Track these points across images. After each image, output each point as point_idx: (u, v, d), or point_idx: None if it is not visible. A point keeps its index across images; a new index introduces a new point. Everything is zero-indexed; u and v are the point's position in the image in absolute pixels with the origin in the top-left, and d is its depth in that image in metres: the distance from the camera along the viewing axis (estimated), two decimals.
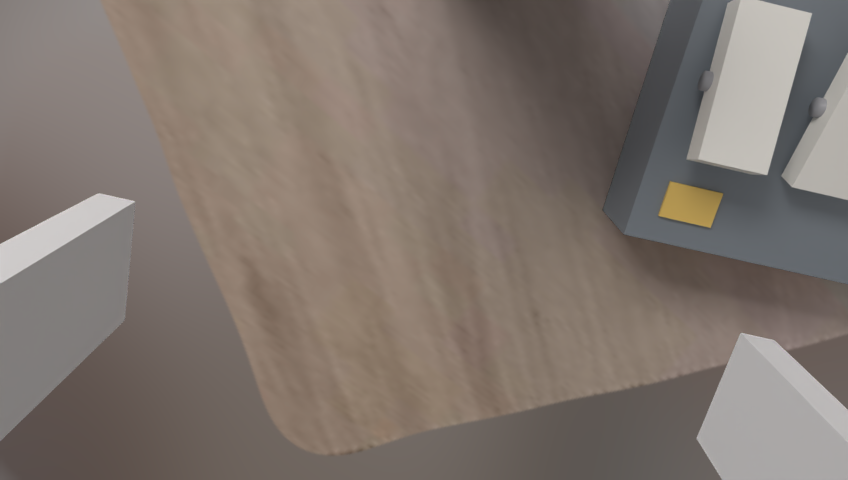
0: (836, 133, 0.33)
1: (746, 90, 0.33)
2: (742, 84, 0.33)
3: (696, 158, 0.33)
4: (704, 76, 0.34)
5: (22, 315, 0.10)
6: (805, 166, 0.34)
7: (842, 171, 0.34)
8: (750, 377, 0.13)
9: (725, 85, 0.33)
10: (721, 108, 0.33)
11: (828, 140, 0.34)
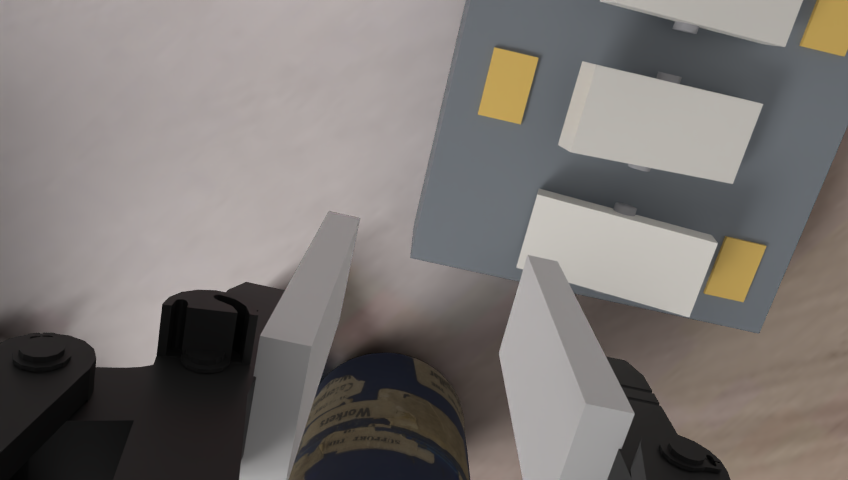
0: (675, 155, 0.29)
1: (616, 264, 0.30)
2: (609, 268, 0.30)
3: None
4: None
5: (330, 315, 0.12)
6: (709, 176, 0.29)
7: (722, 133, 0.29)
8: (526, 290, 0.15)
9: (608, 285, 0.30)
10: (633, 291, 0.30)
11: (682, 162, 0.29)
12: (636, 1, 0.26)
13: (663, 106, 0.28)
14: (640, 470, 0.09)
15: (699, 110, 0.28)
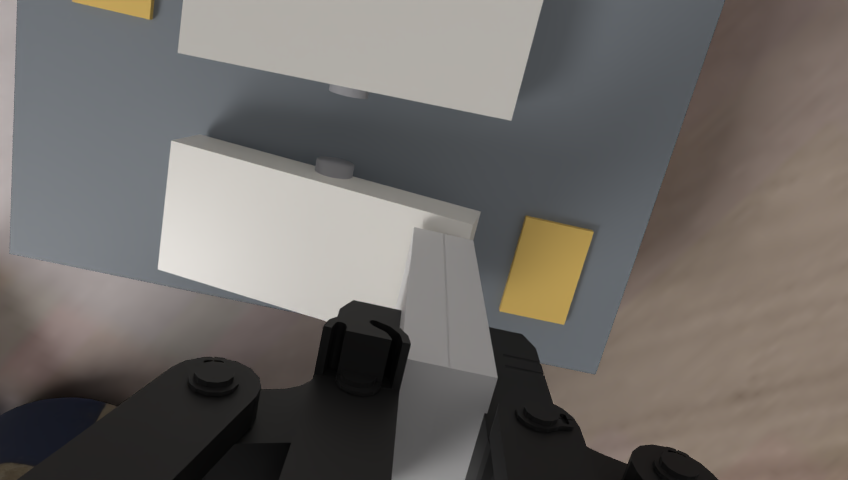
0: (393, 65, 0.16)
1: (311, 263, 0.17)
2: (301, 270, 0.17)
3: None
4: None
5: None
6: (466, 106, 0.16)
7: (478, 25, 0.16)
8: None
9: (305, 300, 0.17)
10: None
11: (408, 77, 0.16)
12: None
13: None
14: (497, 437, 0.09)
15: None
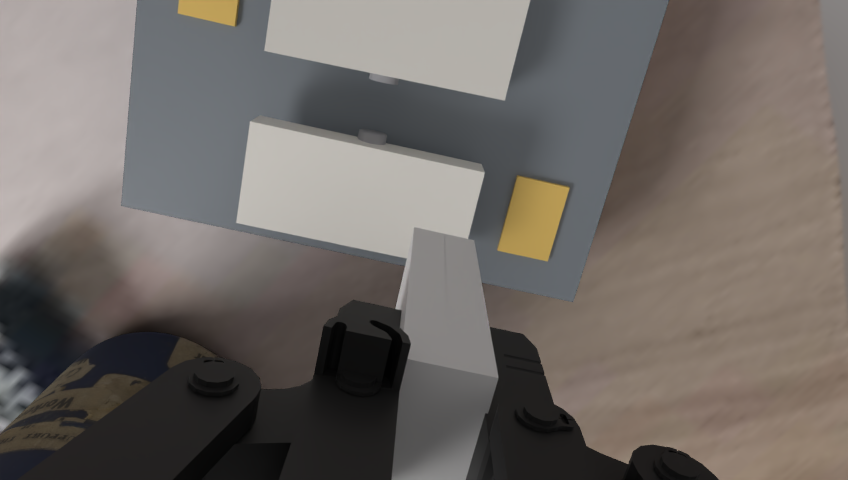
0: (417, 59, 0.22)
1: (363, 209, 0.23)
2: (355, 215, 0.23)
3: None
4: None
5: None
6: (471, 89, 0.22)
7: (479, 30, 0.22)
8: None
9: (358, 237, 0.23)
10: (389, 241, 0.23)
11: (428, 68, 0.22)
12: None
13: None
14: (498, 437, 0.09)
15: None
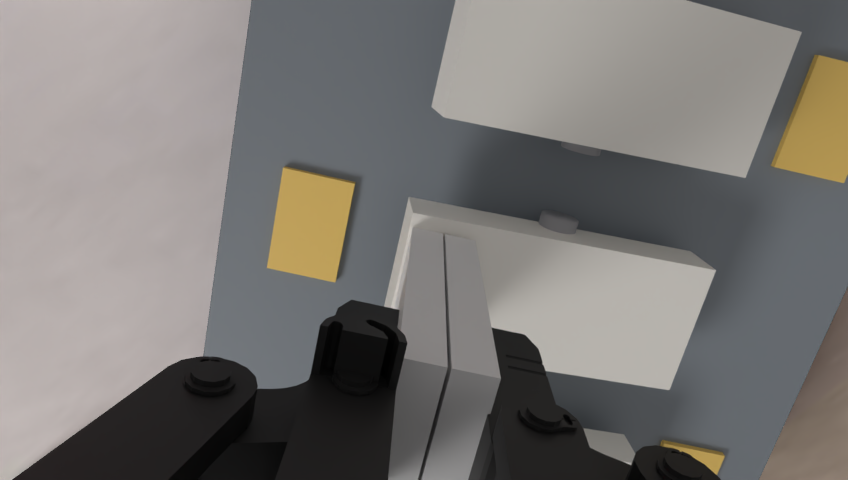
0: (566, 349, 0.17)
1: None
2: None
3: None
4: None
5: None
6: (628, 379, 0.18)
7: (645, 316, 0.17)
8: None
9: None
10: None
11: (578, 358, 0.18)
12: (482, 114, 0.15)
13: (538, 275, 0.17)
14: (501, 438, 0.09)
15: (603, 281, 0.17)
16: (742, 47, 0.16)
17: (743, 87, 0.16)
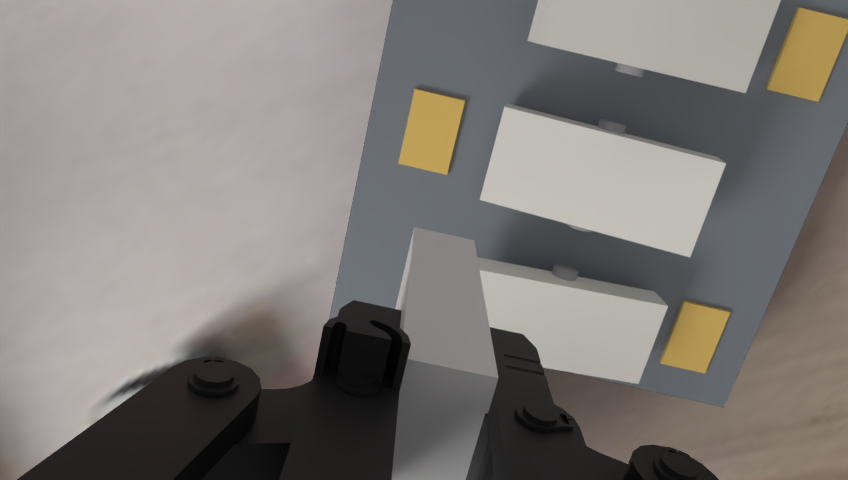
0: (609, 215, 0.25)
1: (561, 337, 0.26)
2: (554, 342, 0.26)
3: None
4: None
5: None
6: (657, 244, 0.25)
7: (670, 195, 0.24)
8: None
9: (554, 360, 0.27)
10: (581, 363, 0.27)
11: (618, 224, 0.25)
12: (565, 43, 0.22)
13: (589, 157, 0.24)
14: (497, 437, 0.09)
15: (637, 165, 0.24)
16: None
17: (744, 27, 0.23)
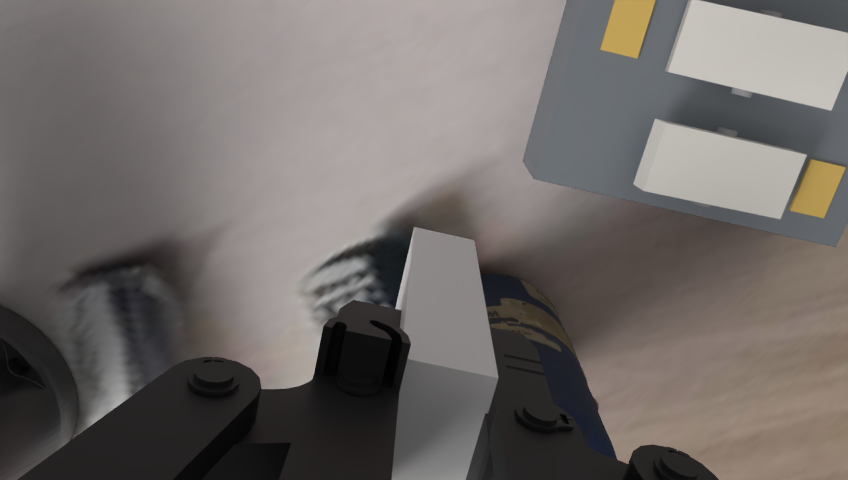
0: (769, 80, 0.33)
1: (727, 180, 0.35)
2: (721, 184, 0.35)
3: None
4: (697, 203, 0.36)
5: None
6: (806, 101, 0.33)
7: (817, 62, 0.32)
8: None
9: (719, 199, 0.35)
10: (739, 201, 0.35)
11: (776, 86, 0.33)
12: None
13: (756, 35, 0.33)
14: (497, 437, 0.09)
15: (793, 40, 0.32)
16: None
17: None
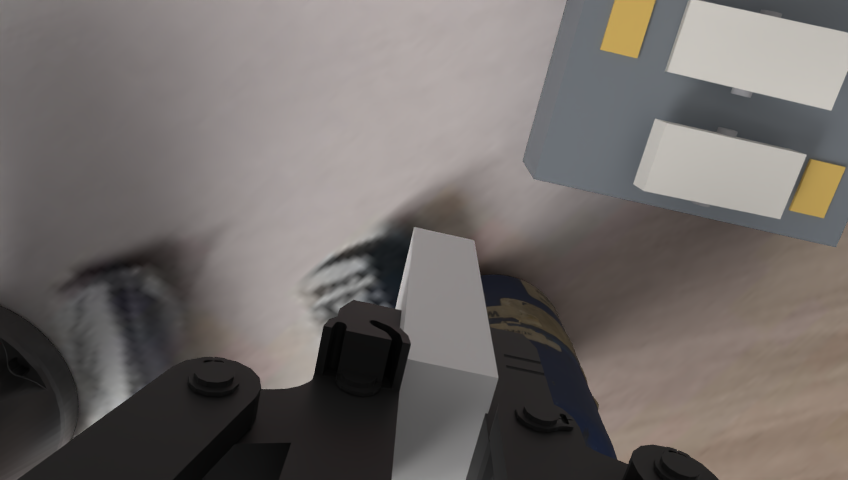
0: (768, 80, 0.33)
1: (727, 180, 0.35)
2: (721, 184, 0.35)
3: None
4: (697, 203, 0.36)
5: None
6: (805, 101, 0.33)
7: (817, 62, 0.32)
8: None
9: (719, 199, 0.35)
10: (739, 201, 0.35)
11: (776, 86, 0.33)
12: None
13: (755, 35, 0.33)
14: (497, 437, 0.09)
15: (793, 40, 0.32)
16: None
17: None
